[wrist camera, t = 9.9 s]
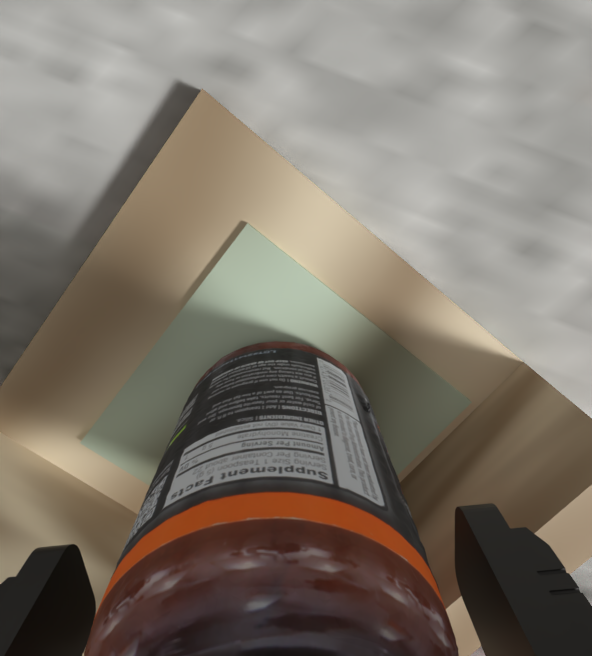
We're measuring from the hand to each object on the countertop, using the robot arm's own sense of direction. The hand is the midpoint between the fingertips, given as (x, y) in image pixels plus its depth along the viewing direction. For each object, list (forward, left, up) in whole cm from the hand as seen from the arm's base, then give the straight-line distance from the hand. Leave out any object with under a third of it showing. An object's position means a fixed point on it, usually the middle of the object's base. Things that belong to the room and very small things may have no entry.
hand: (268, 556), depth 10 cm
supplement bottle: (0, 0, -6) cm, 6 cm away
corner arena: (0, 0, -7) cm, 7 cm away
